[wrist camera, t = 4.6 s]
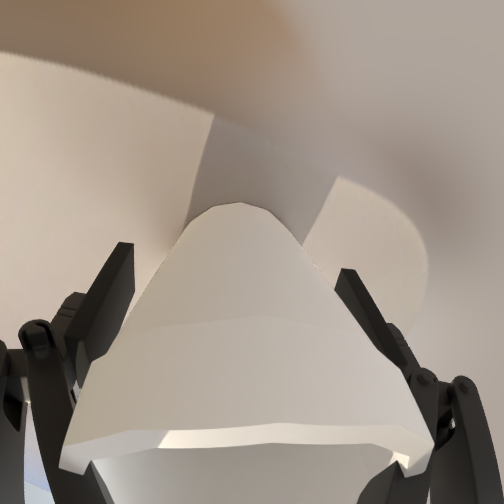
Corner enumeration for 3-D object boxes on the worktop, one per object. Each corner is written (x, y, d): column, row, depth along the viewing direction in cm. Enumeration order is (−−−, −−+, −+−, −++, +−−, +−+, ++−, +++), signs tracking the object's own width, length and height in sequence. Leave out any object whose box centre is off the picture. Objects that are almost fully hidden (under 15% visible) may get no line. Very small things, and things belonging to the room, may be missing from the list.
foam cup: (149, 167, 15) (-16, 377, 3) (335, 181, 16) (506, 382, 4) (156, 319, 19) (115, 524, 8) (302, 326, 20) (352, 524, 9)
